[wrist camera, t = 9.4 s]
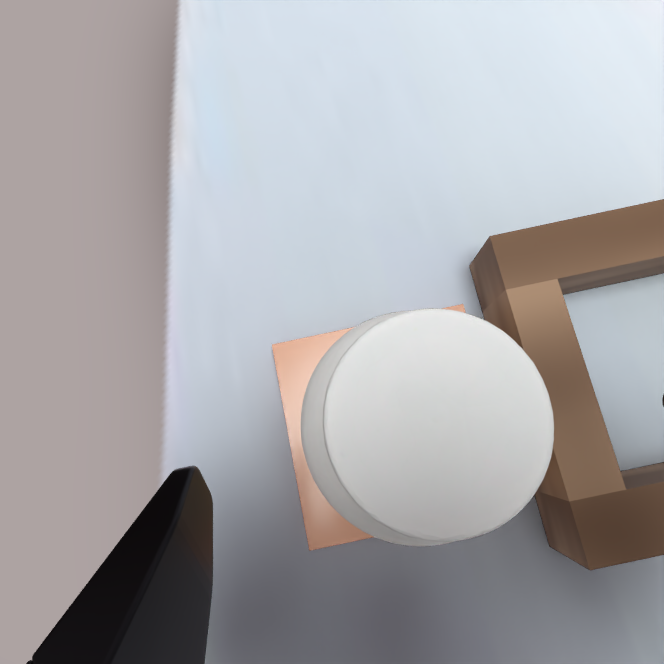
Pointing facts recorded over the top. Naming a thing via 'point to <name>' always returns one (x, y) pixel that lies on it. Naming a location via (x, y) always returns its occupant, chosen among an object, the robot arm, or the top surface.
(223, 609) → the top surface
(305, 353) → the coaster
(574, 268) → the pocket block
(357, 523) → the supplement bottle
